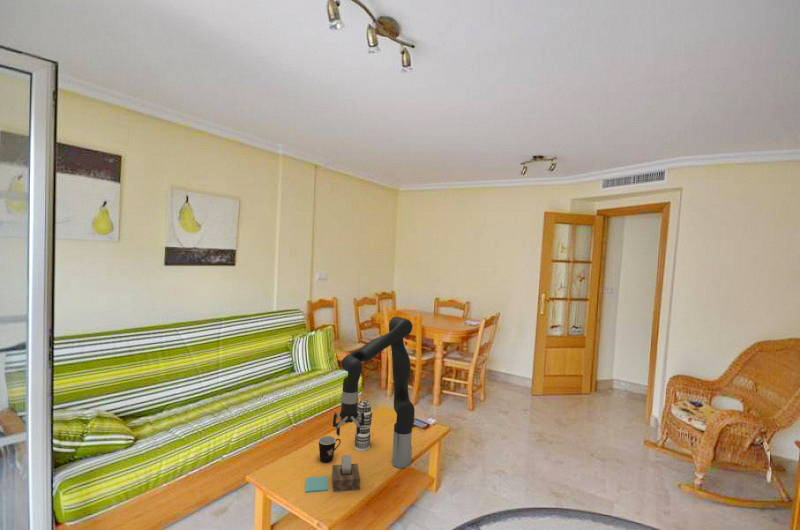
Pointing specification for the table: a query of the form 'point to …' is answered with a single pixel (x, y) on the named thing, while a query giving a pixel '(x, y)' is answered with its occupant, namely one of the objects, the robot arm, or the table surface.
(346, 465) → the steel peg
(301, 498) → the table surface
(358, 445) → the decorative candle
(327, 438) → the coffee mug
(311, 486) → the pad
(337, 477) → the socket block
